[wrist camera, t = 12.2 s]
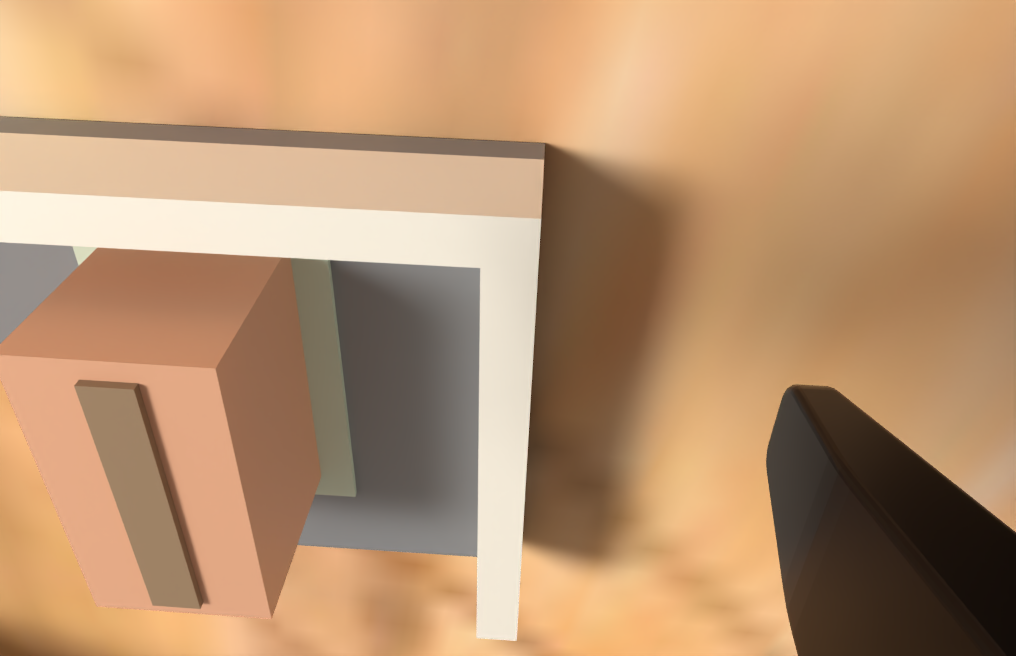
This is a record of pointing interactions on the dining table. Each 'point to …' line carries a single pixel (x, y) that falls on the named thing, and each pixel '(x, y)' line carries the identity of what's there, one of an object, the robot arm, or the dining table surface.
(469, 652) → the dining table surface
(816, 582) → the robot arm
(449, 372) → the tray
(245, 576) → the terracotta block
